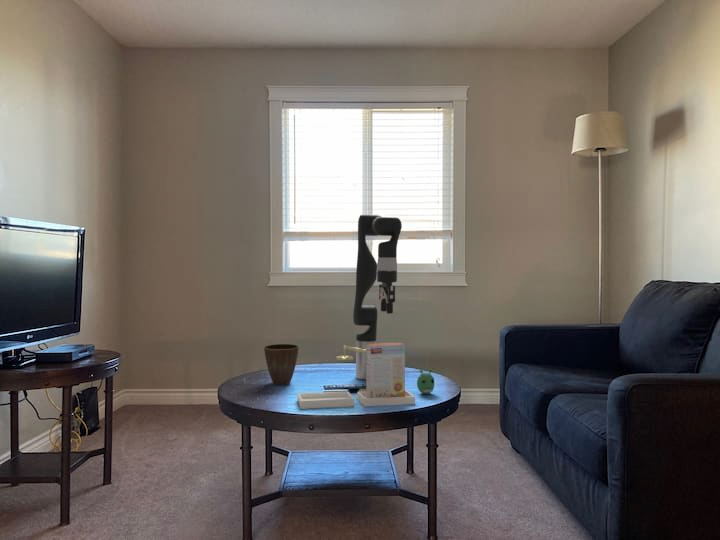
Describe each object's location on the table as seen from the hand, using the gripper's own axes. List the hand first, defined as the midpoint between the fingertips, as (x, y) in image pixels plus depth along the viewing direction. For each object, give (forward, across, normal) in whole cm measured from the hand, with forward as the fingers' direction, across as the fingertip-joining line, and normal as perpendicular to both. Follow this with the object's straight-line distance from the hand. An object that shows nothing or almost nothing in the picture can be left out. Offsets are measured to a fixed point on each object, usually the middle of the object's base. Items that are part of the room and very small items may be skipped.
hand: (386, 312), depth 197 cm
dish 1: (+34, -1, -23) cm, 41 cm away
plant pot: (+34, -37, -37) cm, 62 cm away
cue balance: (+34, -12, -4) cm, 36 cm away
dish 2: (+34, 0, 0) cm, 34 cm away
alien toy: (+34, -8, +19) cm, 40 cm away
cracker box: (+33, 0, 0) cm, 33 cm away
